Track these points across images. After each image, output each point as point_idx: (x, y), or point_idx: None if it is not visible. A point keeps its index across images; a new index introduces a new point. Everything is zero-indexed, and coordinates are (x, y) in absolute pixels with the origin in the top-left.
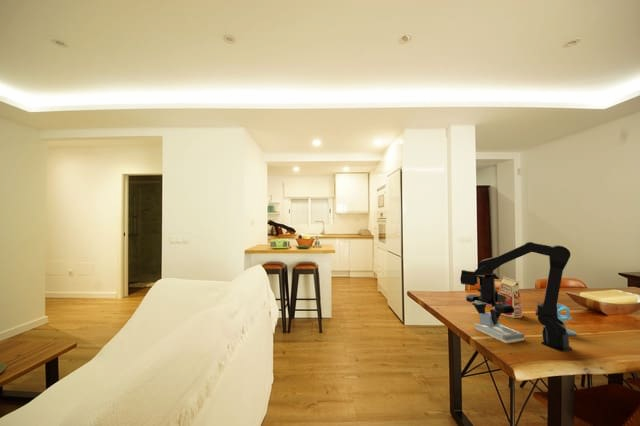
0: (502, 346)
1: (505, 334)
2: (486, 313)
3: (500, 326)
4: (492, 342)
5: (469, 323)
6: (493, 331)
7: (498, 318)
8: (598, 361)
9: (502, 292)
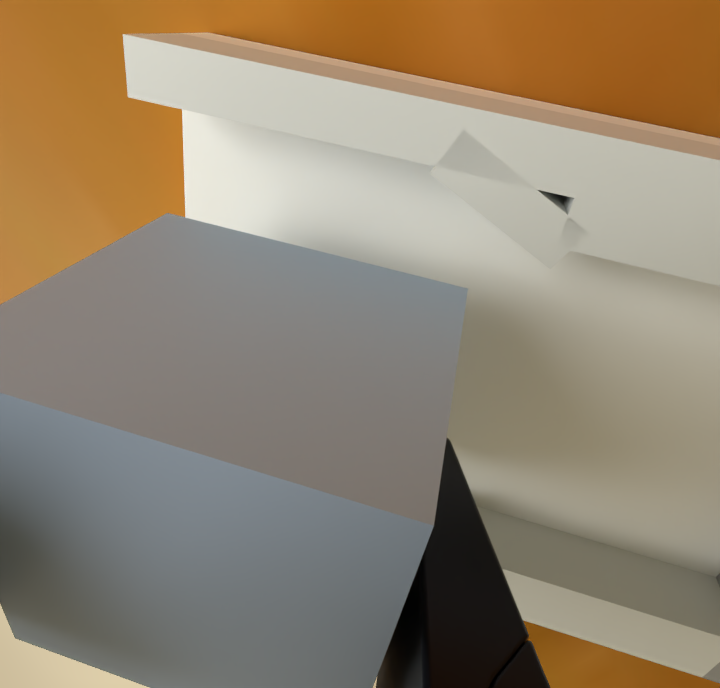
0: (700, 678)
1: (663, 408)
2: (46, 539)
3: (468, 195)
4: (571, 650)
5: (15, 294)
6: (524, 617)
7: (515, 616)
8: None
9: None
